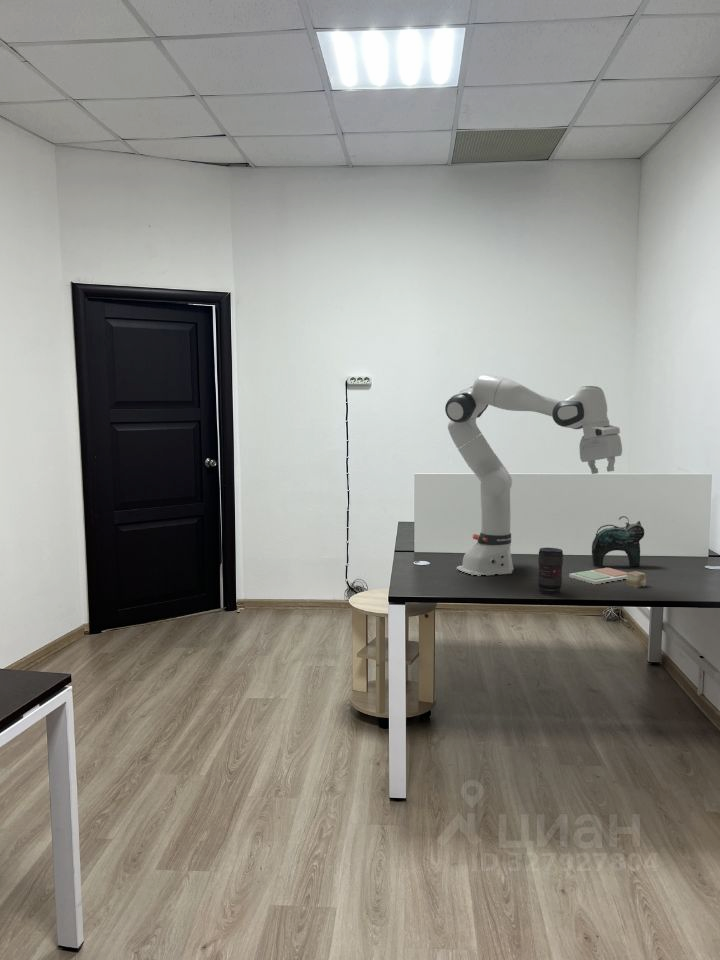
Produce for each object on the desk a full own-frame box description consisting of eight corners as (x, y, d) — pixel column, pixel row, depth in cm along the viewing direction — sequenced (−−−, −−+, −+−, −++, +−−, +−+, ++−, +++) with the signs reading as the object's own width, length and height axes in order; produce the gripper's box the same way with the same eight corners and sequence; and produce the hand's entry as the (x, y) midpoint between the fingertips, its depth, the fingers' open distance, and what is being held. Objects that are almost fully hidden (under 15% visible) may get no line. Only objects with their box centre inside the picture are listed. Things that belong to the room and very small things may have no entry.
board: (595, 584, 260) (595, 580, 259) (569, 576, 271) (569, 572, 271) (634, 578, 269) (635, 573, 269) (607, 570, 280) (608, 566, 280)
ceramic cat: (639, 564, 291) (641, 515, 288) (645, 568, 284) (647, 517, 282) (589, 564, 291) (591, 515, 289) (594, 568, 285) (596, 517, 282)
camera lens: (565, 594, 247) (566, 551, 245) (542, 595, 246) (543, 552, 244) (557, 588, 255) (558, 546, 253) (534, 589, 254) (535, 547, 252)
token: (636, 587, 256) (637, 575, 255) (626, 585, 260) (626, 572, 259) (645, 586, 258) (646, 573, 257) (635, 583, 262) (635, 571, 261)
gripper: (572, 437, 258) (578, 476, 257) (605, 429, 238) (612, 471, 237) (588, 435, 259) (593, 474, 259) (622, 427, 240) (628, 468, 239)
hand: (602, 472), depth 248 cm, fingers open, 8 cm apart
